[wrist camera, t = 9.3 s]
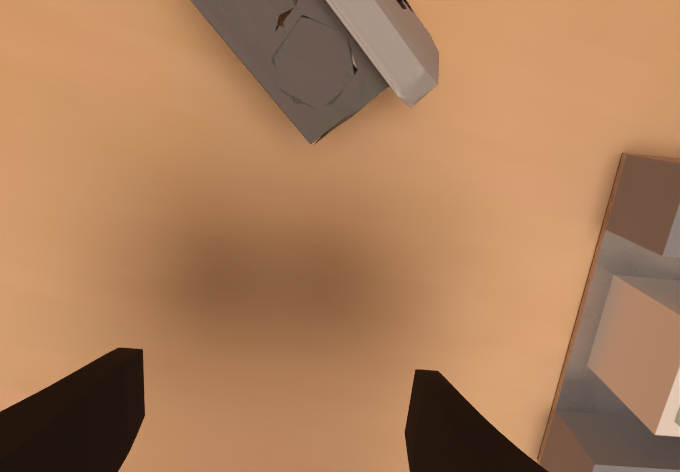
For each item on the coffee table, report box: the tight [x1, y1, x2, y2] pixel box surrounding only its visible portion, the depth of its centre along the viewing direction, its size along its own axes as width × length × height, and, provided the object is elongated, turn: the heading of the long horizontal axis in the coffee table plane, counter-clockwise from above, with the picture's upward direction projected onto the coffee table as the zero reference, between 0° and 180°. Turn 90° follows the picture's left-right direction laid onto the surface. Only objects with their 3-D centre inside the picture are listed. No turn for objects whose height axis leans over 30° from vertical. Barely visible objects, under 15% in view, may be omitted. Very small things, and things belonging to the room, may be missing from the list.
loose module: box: [587, 275, 680, 437], centre depth 20 cm, size 5×4×5 cm
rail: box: [538, 154, 680, 462], centre depth 22 cm, size 17×8×2 cm, turn 174°
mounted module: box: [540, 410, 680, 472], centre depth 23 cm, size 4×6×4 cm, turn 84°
